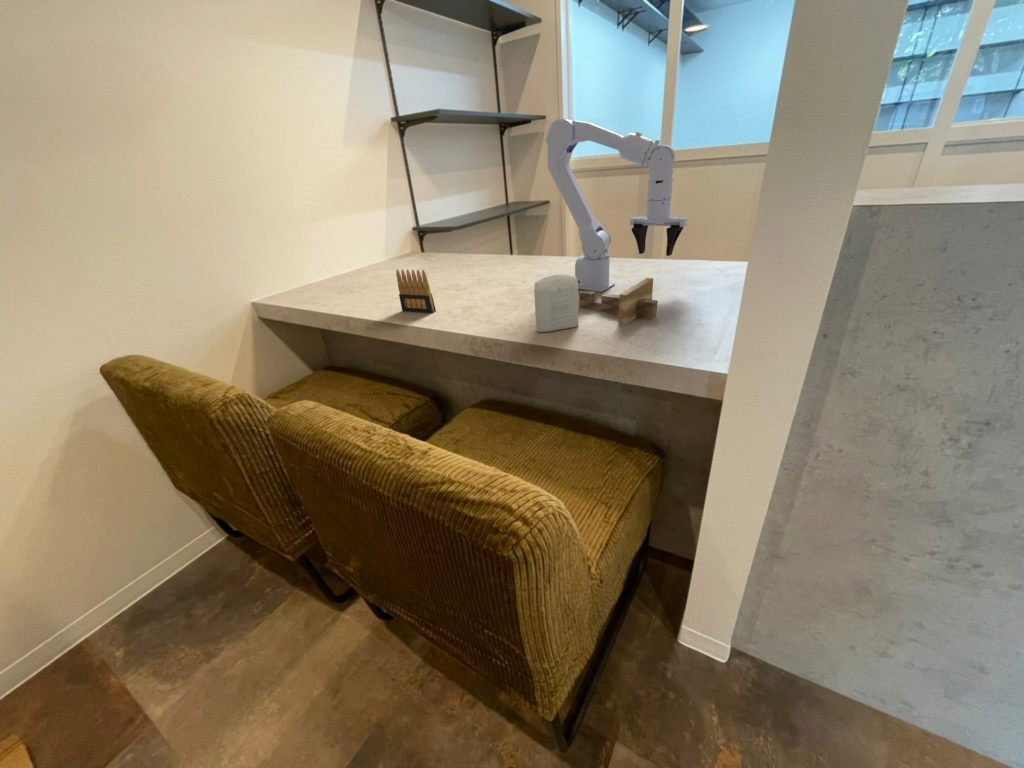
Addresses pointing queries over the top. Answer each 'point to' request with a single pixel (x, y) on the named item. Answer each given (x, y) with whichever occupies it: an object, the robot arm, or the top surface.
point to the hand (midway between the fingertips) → (655, 254)
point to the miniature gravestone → (556, 303)
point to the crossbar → (633, 299)
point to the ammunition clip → (415, 292)
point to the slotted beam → (616, 304)
